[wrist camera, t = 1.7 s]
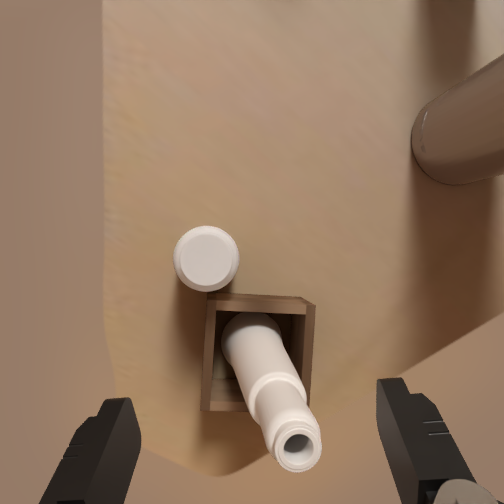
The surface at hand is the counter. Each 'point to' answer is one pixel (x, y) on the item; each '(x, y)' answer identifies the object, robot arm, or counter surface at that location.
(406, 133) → the counter surface
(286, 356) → the cosmetic bottle
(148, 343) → the counter surface
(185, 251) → the supplement bottle
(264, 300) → the holder
